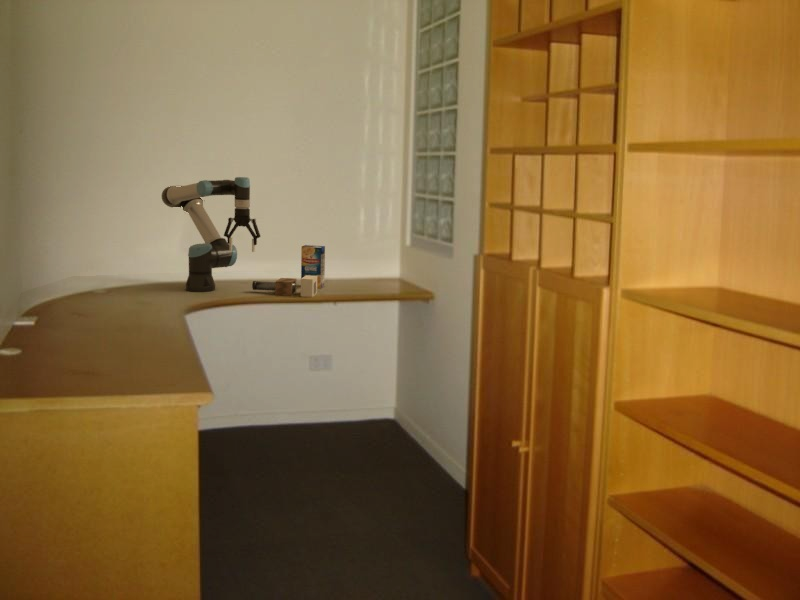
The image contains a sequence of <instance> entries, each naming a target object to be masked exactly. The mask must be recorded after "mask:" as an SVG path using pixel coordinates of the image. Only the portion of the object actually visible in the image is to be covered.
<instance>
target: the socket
mask: <svg viewBox="0 0 800 600" xmlns="http://www.w3.org/2000/svg"><path fill="white" fill-rule="evenodd" d="M317 293H318V289H317V276H309V275H306V276H304V277H303V278H301V277H300V297H305V298H306V297H309V298H313V297H314V296H316V295H317Z"/></svg>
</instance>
